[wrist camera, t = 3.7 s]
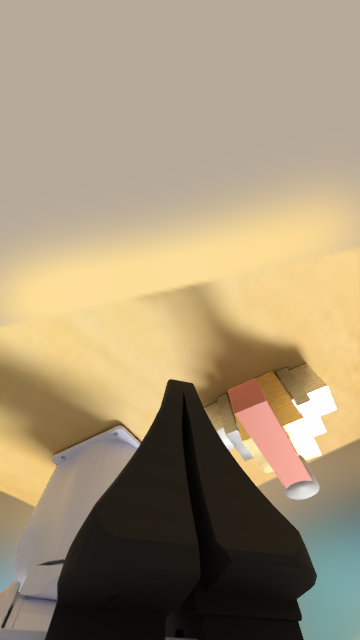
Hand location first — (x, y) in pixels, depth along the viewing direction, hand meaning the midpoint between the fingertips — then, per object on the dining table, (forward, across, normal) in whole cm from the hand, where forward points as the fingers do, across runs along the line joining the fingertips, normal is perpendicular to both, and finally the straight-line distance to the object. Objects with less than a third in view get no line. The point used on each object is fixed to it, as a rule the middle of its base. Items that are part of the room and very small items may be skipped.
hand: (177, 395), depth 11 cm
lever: (0, -6, +2) cm, 7 cm away
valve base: (+6, -9, +4) cm, 12 cm away
